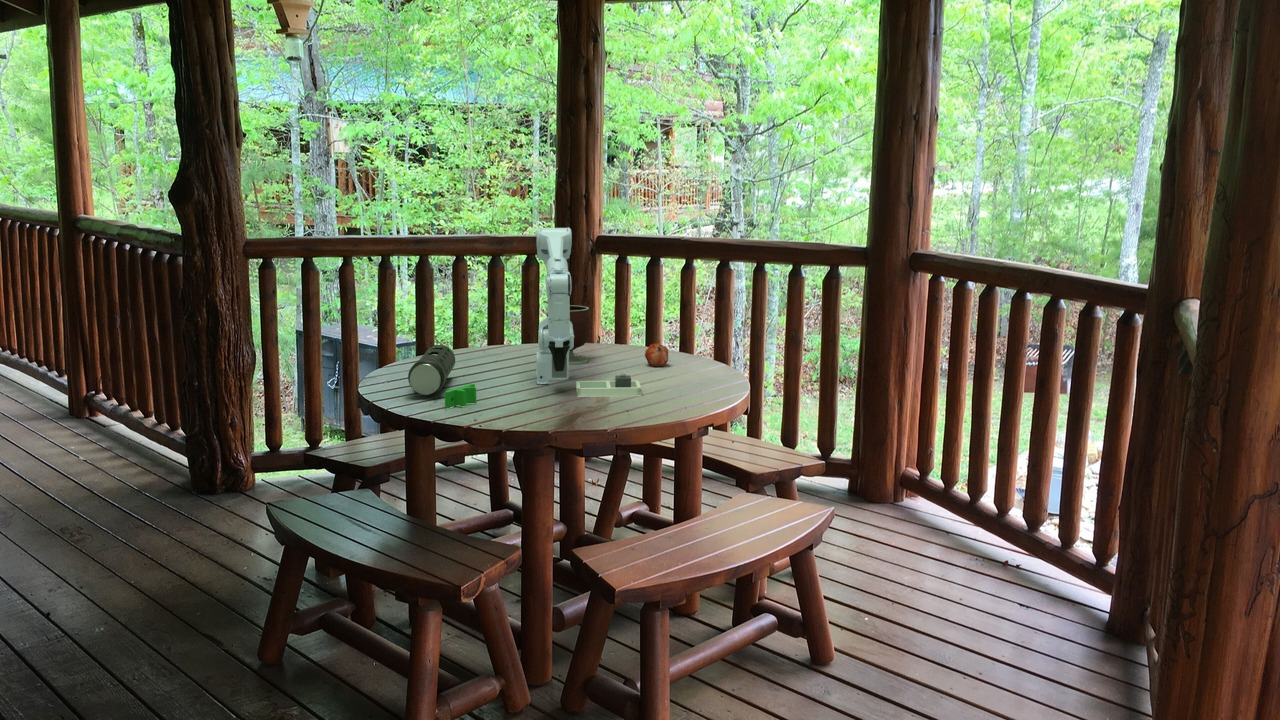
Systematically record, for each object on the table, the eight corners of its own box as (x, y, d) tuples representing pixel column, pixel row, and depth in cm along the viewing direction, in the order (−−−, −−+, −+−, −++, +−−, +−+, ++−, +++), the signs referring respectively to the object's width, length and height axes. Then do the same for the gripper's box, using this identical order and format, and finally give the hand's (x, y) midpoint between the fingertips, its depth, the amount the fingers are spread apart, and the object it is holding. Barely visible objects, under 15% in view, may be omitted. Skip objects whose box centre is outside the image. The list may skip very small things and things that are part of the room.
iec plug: (551, 377, 259) (551, 353, 257) (552, 374, 263) (551, 350, 261) (566, 377, 259) (566, 353, 258) (566, 374, 263) (566, 350, 262)
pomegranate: (642, 371, 305) (645, 357, 296) (644, 351, 309) (647, 336, 300) (665, 374, 306) (669, 359, 297) (667, 353, 309) (671, 338, 300)
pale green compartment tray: (576, 401, 255) (576, 389, 254) (576, 391, 265) (576, 380, 265) (641, 400, 256) (641, 388, 255) (638, 391, 267) (638, 379, 266)
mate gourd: (578, 355, 319) (577, 295, 315) (598, 362, 307) (598, 300, 303) (535, 360, 311) (534, 298, 307) (554, 367, 299) (553, 303, 295)
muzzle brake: (457, 378, 283) (455, 343, 281) (444, 400, 255) (442, 361, 253) (423, 378, 282) (422, 343, 280) (407, 400, 255) (405, 362, 253)
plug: (616, 393, 259) (616, 375, 258) (615, 390, 263) (615, 372, 262) (631, 393, 259) (631, 375, 258) (630, 389, 263) (630, 372, 262)
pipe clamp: (457, 411, 244) (456, 393, 243) (445, 409, 246) (444, 391, 245) (483, 401, 254) (483, 384, 253) (471, 400, 256) (471, 383, 255)
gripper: (574, 323, 251) (574, 374, 254) (573, 314, 265) (574, 363, 268) (546, 323, 251) (547, 374, 253) (547, 314, 265) (548, 363, 267)
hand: (559, 369), depth 260 cm, fingers closed on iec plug, 4 cm apart
